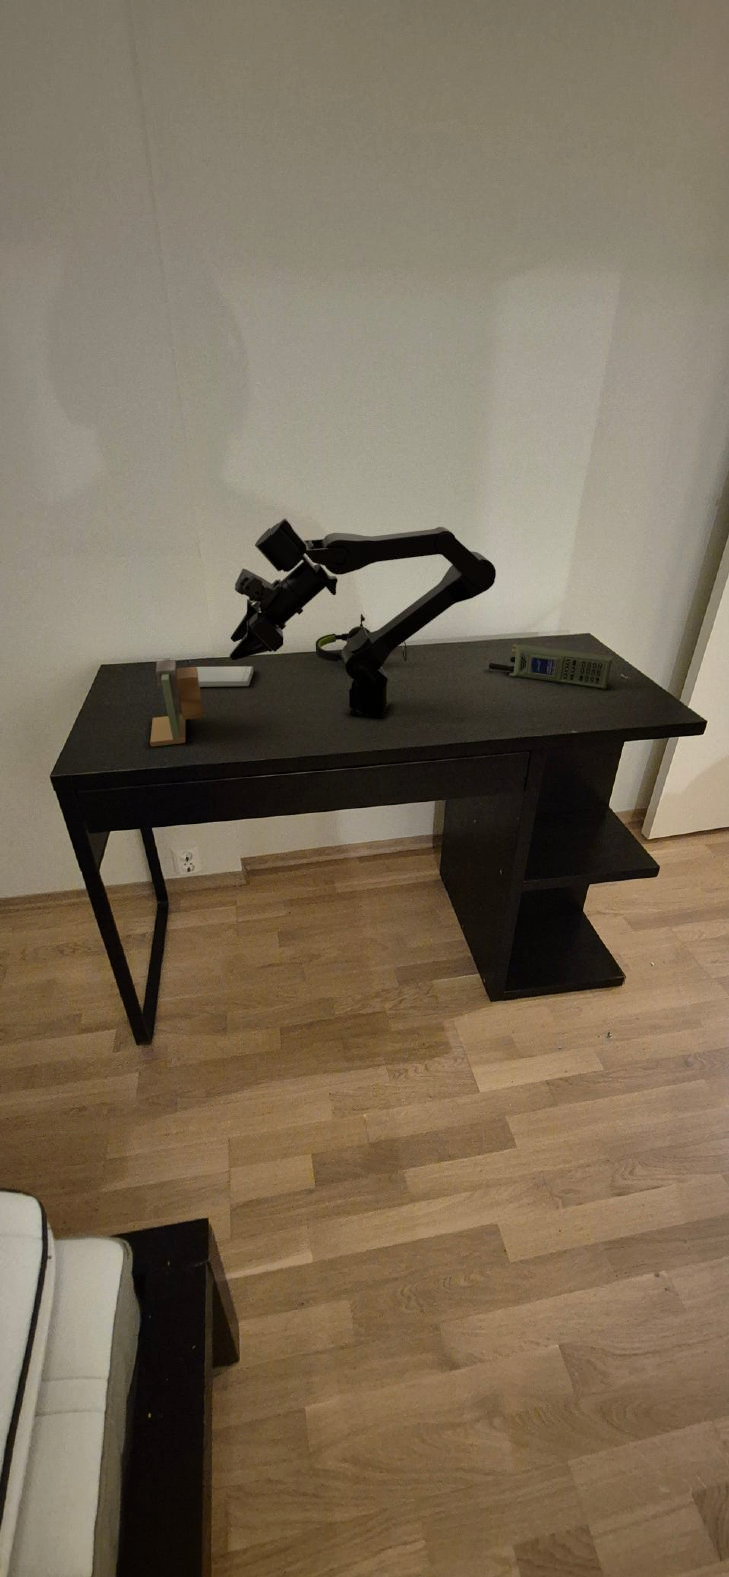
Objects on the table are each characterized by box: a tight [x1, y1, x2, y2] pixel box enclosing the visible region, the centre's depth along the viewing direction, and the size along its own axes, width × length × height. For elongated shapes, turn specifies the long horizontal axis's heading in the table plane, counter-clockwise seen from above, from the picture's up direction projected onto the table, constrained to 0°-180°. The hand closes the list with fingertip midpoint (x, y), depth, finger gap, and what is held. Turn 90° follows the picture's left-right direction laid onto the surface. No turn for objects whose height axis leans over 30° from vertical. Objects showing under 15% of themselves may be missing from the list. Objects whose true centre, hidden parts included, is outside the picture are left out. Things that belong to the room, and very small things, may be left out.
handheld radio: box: [488, 643, 613, 690], centre depth 140 cm, size 7×3×25 cm
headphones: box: [315, 613, 408, 663], centre depth 149 cm, size 16×10×20 cm
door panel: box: [149, 658, 187, 747], centre depth 119 cm, size 6×10×12 cm, turn 13°
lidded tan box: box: [155, 659, 204, 720], centre depth 119 cm, size 7×5×10 cm
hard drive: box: [196, 666, 254, 688], centre depth 143 cm, size 2×8×12 cm
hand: (231, 648), depth 119 cm, fingers open, 9 cm apart
